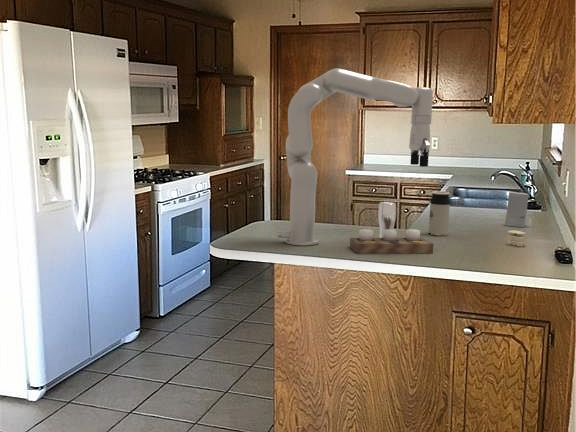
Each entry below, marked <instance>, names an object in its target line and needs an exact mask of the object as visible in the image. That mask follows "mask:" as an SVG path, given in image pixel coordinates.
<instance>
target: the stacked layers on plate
mask: <svg viewBox="0 0 576 432" xmlns="http://www.w3.org/2000/svg"><path fill="white" fill-rule="evenodd" d="M507 232H508V234H507V236H508V237H507V239H506V241H507V244H508V243H509V244H514V245H517V246H521V247H524V246H525V243H526V241H525V240H526V238H527V236H526V235H523V234H525V232H524V231H521V230H515V229H514V230H513V229H512V230H507ZM523 245H524V246H523ZM517 246H516V247H517Z"/></svg>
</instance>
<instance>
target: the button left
mask: <svg viewBox="0 0 576 432" xmlns="http://www.w3.org/2000/svg"><path fill="white" fill-rule="evenodd" d="M358 234H359V236H358V238H359V241H373V238H374V230H373V229H369V228H363V229H359V233H358Z"/></svg>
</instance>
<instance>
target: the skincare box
mask: <svg viewBox="0 0 576 432" xmlns="http://www.w3.org/2000/svg"><path fill="white" fill-rule="evenodd" d="M529 195H530V194H529V193H524V192H515V191H510V192H508V200H507V208H506V209H507V210H506V217H505V224H504V225H505V226H506V227H515V228H524V227H525V226H526V220H527V219H526V217H527V212H528V210H527V209H528V203H529Z"/></svg>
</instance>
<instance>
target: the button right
mask: <svg viewBox="0 0 576 432" xmlns="http://www.w3.org/2000/svg"><path fill="white" fill-rule="evenodd" d="M405 233H406V235H405V238H406V240H407V241H420V238H421V230H420V229H411V228H409V229H406V232H405Z"/></svg>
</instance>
